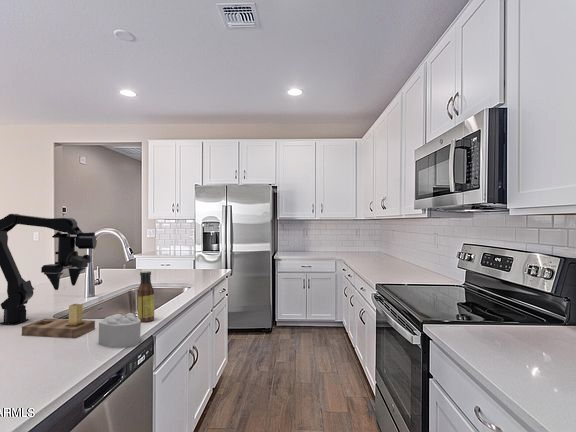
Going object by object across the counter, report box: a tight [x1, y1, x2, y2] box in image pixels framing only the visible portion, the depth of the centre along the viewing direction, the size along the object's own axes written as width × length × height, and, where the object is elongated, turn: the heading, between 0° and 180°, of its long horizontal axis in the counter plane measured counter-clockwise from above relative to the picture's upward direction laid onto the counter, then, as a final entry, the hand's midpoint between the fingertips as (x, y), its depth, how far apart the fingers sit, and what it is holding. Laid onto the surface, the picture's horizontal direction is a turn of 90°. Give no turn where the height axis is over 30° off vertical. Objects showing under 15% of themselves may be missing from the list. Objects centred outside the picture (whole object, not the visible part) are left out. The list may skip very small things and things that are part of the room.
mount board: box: [21, 318, 96, 339], centre depth 123 cm, size 20×10×3 cm, turn 85°
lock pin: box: [68, 303, 84, 327], centre depth 122 cm, size 3×3×10 cm
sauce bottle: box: [137, 270, 155, 323], centre depth 139 cm, size 7×6×20 cm
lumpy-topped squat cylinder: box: [98, 312, 142, 349], centre depth 115 cm, size 10×13×9 cm
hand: (65, 287), depth 137 cm, fingers open, 9 cm apart
